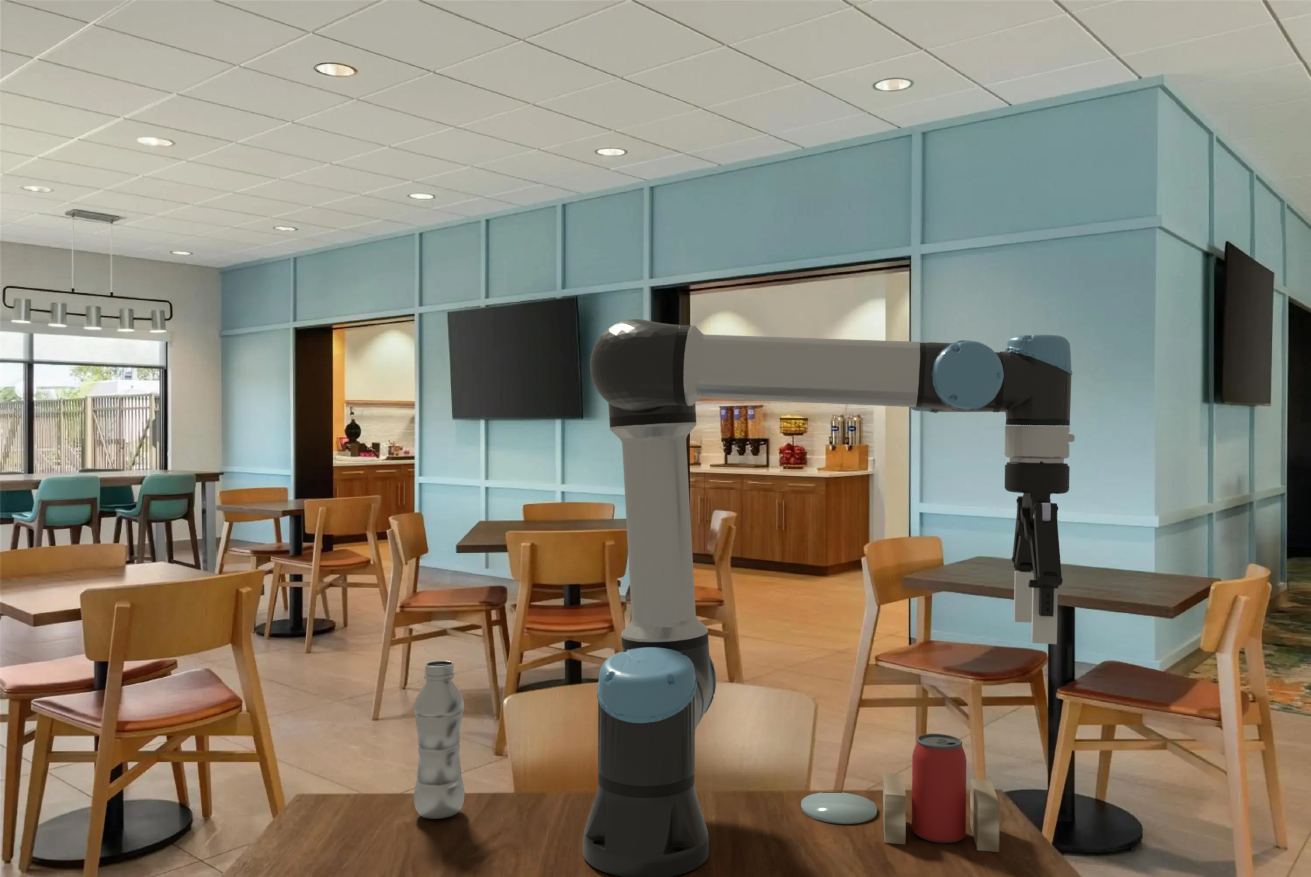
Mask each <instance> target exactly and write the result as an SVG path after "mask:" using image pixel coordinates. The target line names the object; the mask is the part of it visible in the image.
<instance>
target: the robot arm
mask: <svg viewBox="0 0 1311 877" xmlns="http://www.w3.org/2000/svg"><path fill="white" fill-rule="evenodd" d="M1071 354H1072V353H1071V343H1070V342H1069V340H1068V339H1067V338H1066V337H1064V336H1061V335H1053V334H1030V335H1028V334H1027V335H1026V334H1025V335H1023V334H1022V335H1015V336H1012V337H1011V336H1010V338H1008V340H1007V342H1006V347H1005V350H1004V351H999V352H998V351H996V352H995V350H994V349H992V348H991V347H989V346H988V345H987V344H984V343H982V342H980V341H975V340H958V341H956V342H955V341H954V342H929V341H928V342H920V341H909V340H908V341H906V340H905V341H903V340H901V341H900V340H875V339H874V340H873V339H850V338H849V339H847V338H842V339H841V338H839V339H838V338H815V337H814V338H813V337H792V336H791V337H788V336H787V337H784V336H783V337H782V336H761V335H760V336H759V335H758V336H757V335H756V336H755V335H729V334H706V333H705V334H704V333H703V332H702V331H701V330H700V329H699V328H698V327H697V326H696V325H685V324H684V325H683V324H674V323H673V324H671V323H662V322H657V321H651V320H646V319H640V318H634V319H625V320H623V321H619V322H617V323H615V324H613V325H612V326H610V327H608V328H607V329H606V330H604V332H603V333H602V334H601V335H600V336H599V337H598V338H597V340H596V342H595V344H594V345H593V348H592V350H591V355H590V361H589V369H590V377H591V380H592V383H593V386H594V387H595V389H596V390H597V392H598V393H599V395H600V397H602V398H603V399H604V400H605V401H606V402H607V403H608V416H609V417H608V418H609V420H608V421H609V430H610V431H611V432H612V433H613V434H614V435H615V436H616V437H617V438H619V440H620V442H621V448H622V465H623V481H624V482H623V483H624V501H625V503H624V504H625V518H626V538H627V539H626V540H627V555H628V557H627V558H628V572H629V573H628V574H629V592H630V608H631V610H630V612H631V620H630V622H629V624H627V626H626V627H625V628H624V629H623V631H621V637H620V638H621V651H619V652H616V653H615V654H613V655H611V656H609V657H608V658H607V659H605V661H603V663H602V665H601V666H600V669H599V675H598V683H597V686H596V696H597V697H596V698H597V772H598V773H597V790H596V793H595V796H594V799H593V802H592V805H591V809H590V812H589V814H588V815H589V816H588V818H587V821H586V824H585V827H584V831H583V836H582V855H583V856H582V857H583V858H584V860H585V861H586V863H588V864H589V865H590V866H591V867H593V868H594V869H596V870H598V871H601V872H603V873H606V874H609V875H613V876H617V877H677V876H679V875H684V874H687V873H689V872H691V871H693V870H696V869H697V868H700V867H701V866H702V865H703V864H705V862H706V861H707V860H708V857H709V854H710V844H709V843H710V836H709V835H710V834H709V831H708V828H707V824H706V822H705V817H704V814H703V812H702V808H701V805H700V801H699V799H698V795H697V792H696V787H695V786H696V784H695V783H696V782H695V781H696V780H695V776H696V775H695V771H696V770H695V768H696V765H695V764H696V762H695V761H696V760H695V759H696V758H695V754H696V744H695V743H696V729H697V727H698V725H699V724H700V722H701V720H702V718H703V717H704V715H705V714H706V713H707V712H708V711H709V708H710V707H711V705H712V702H713V700H714V699H715V698H714V695H715V693H716V690H717V672H716V669H715V663H713V659H712V658H711V655H710V641H709V630H708V629H709V628H708V627H707V626H706V625H705V624H704V623H703V622H702V621H701V620H699V618H698V617H697V612H696V599H695V598H696V597H695V596H696V594H695V593H696V592H695V578H694V561H693V560H694V559H693V558H694V557H693V542H692V540H693V539H692V525H691V523H692V521H691V507H690V506H691V505H690V488H689V487H690V485H689V472H688V471H689V468H688V452H687V438H688V435H689V434H690V433H691V432H692V431H693V430H694V429H695V427H696V426H697V412H696V411H697V409H696V404H697V402H698V401H699V400H700V399H713V400H714V399H716V400H717V399H718V400H720V399H721V400H737V401H738V400H739V401H740V400H743V401H763V402H766V401H767V402H787V403H789V402H790V403H808V404H809V403H810V404H831V405H832V404H834V405H835V404H836V405H856V406H858V405H859V406H876V407H877V406H879V407H882V406H883V407H903V408H905V407H906V408H907V407H908V408H910V409H911V410H913V411H916V412H929V413H934V414H938V413H981V412H982V413H983V412H984V413H986V412H988V413H990V412H991V413H1005V426H1004V457H1006V458H1009V462H1006V464H1004V489H1005V491H1007V492H1009V493H1017V494H1018V493H1019V494H1022V496H1019V495H1018V496H1017V498H1016V520H1015V529H1014V537H1013V539H1014V540H1013V548H1012V550H1013V551H1012V557H1011V561H1012V564H1013V568H1014V589H1013V590H1014V593H1013V597H1014V598H1013V622H1015V623H1029V624H1030V623H1031V635H1030V636H1031V643H1032V644H1044V645H1045V644H1047V645H1048V644H1049V645H1058V642H1057V641H1058V605H1059V604H1058V598H1059V597H1058V596H1059V594H1058V592H1059V586H1062V584H1063V580H1064V579H1063V575H1062V564H1061V553H1060V552H1061V550H1060V539H1059V528H1058V527H1059V526H1058V511H1059V506H1058V503H1055V502H1054V503H1053V502H1052V501H1051V495H1061V494H1066V493H1068V492H1069V491H1070V470H1071V468H1070V465H1069V464H1068V463H1065V459H1068V458H1069V457H1070V443H1072V442H1075V438H1076V437H1075V435H1074V434H1072V433H1070V432H1071V430H1070V429H1071V428H1070V426H1071V421H1070V420H1071V404H1072V402H1071V401H1072V400H1071V398H1072V396H1071V395H1072V394H1071V393H1072V376H1073V370H1072V358H1071V356H1072V355H1071Z"/></svg>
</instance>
